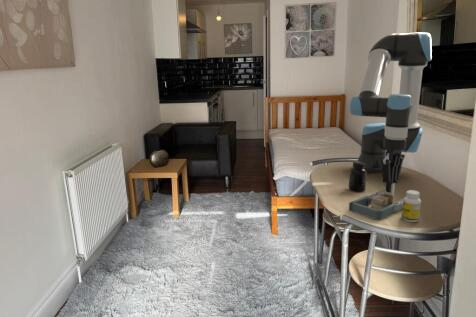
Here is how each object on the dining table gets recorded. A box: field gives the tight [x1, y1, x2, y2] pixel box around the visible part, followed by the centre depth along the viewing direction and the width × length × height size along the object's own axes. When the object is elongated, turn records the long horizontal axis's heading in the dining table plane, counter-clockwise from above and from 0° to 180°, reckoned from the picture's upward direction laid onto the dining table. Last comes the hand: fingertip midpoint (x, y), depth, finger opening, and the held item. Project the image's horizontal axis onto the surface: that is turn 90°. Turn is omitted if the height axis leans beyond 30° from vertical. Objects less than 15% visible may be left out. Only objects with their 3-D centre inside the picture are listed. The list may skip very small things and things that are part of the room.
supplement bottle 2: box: [401, 189, 422, 223], centre depth 121 cm, size 5×5×10 cm
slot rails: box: [365, 189, 404, 215], centre depth 135 cm, size 14×12×2 cm
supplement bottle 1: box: [348, 160, 368, 193], centre depth 150 cm, size 7×7×12 cm
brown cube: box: [378, 193, 394, 206], centre depth 134 cm, size 4×4×4 cm
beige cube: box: [370, 195, 388, 210], centre depth 131 cm, size 4×4×4 cm
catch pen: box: [348, 195, 397, 221], centre depth 129 cm, size 11×12×3 cm
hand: (388, 199), depth 135 cm, fingers closed
